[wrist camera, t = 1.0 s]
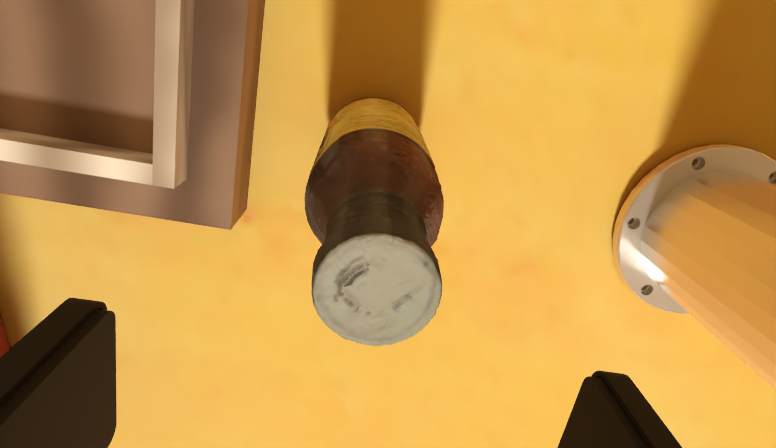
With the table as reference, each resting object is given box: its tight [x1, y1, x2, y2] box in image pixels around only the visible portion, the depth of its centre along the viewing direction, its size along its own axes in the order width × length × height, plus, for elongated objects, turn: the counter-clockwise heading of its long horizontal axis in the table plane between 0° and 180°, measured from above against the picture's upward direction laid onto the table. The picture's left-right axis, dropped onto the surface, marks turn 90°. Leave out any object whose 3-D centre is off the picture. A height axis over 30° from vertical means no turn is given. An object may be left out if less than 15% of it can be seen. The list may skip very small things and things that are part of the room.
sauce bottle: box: [305, 98, 444, 346], centre depth 24 cm, size 6×6×20 cm
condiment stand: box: [0, 0, 265, 230], centre depth 28 cm, size 18×18×6 cm
